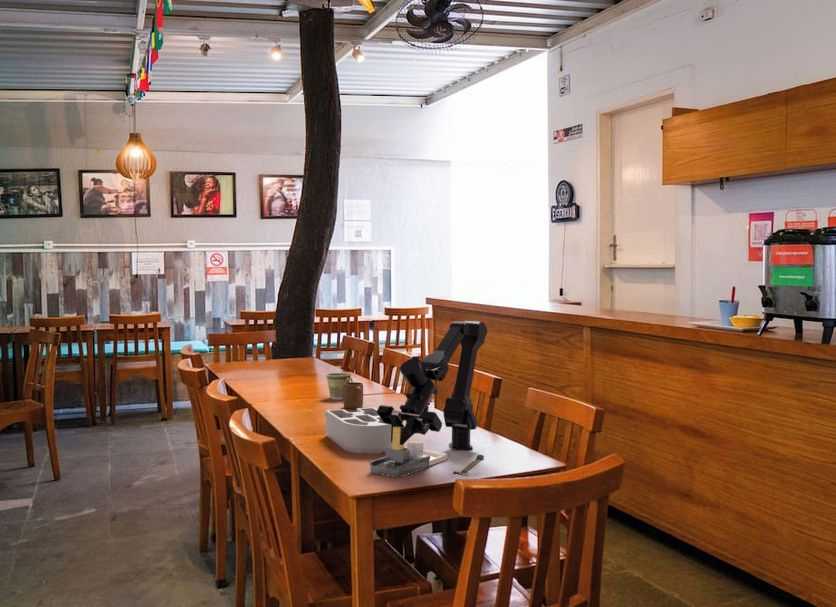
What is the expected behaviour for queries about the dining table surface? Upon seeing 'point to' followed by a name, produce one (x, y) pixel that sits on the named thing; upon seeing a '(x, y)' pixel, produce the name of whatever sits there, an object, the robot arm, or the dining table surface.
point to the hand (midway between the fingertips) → (396, 443)
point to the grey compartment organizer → (358, 430)
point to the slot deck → (397, 466)
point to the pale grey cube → (412, 451)
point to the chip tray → (435, 456)
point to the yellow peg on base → (397, 447)
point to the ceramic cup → (337, 384)
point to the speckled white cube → (417, 449)
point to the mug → (353, 395)
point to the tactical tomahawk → (469, 466)
